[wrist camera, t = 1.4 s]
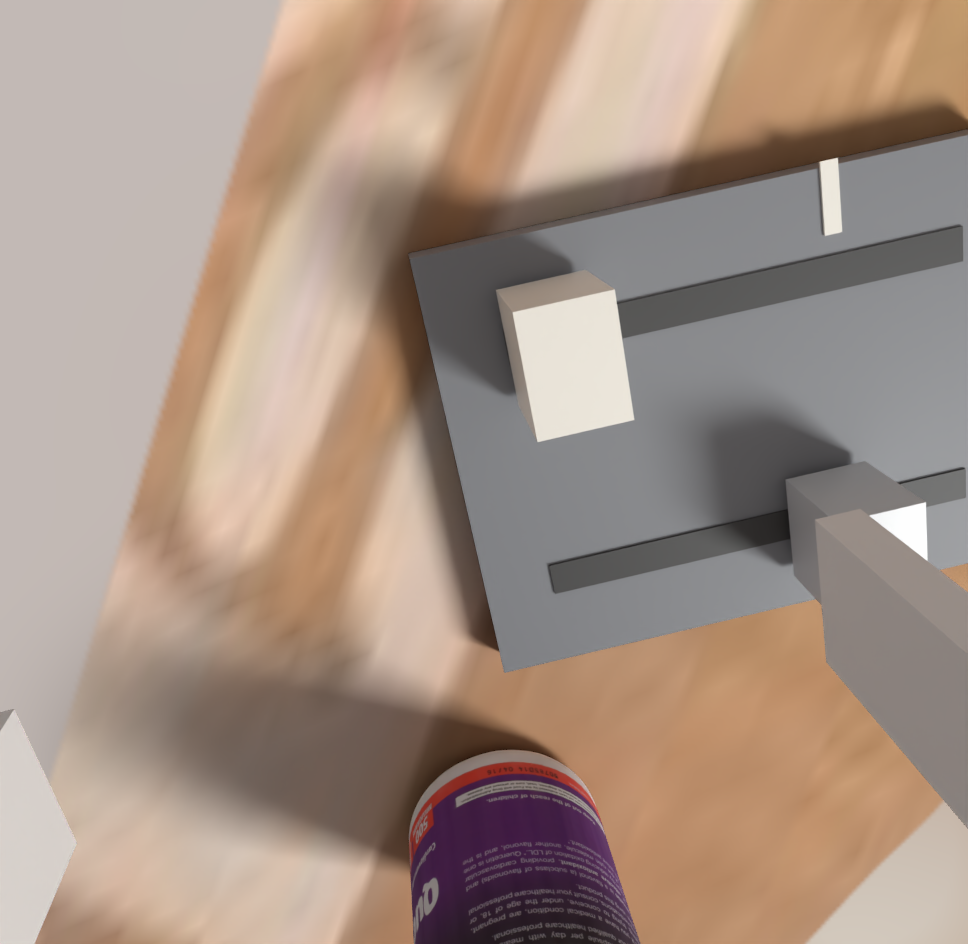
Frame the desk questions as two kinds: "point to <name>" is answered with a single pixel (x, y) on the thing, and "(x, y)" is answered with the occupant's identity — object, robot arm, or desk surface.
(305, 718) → the desk surface
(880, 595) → the robot arm
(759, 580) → the panel
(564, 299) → the fader ivory
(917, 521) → the fader grey
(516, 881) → the pill bottle
